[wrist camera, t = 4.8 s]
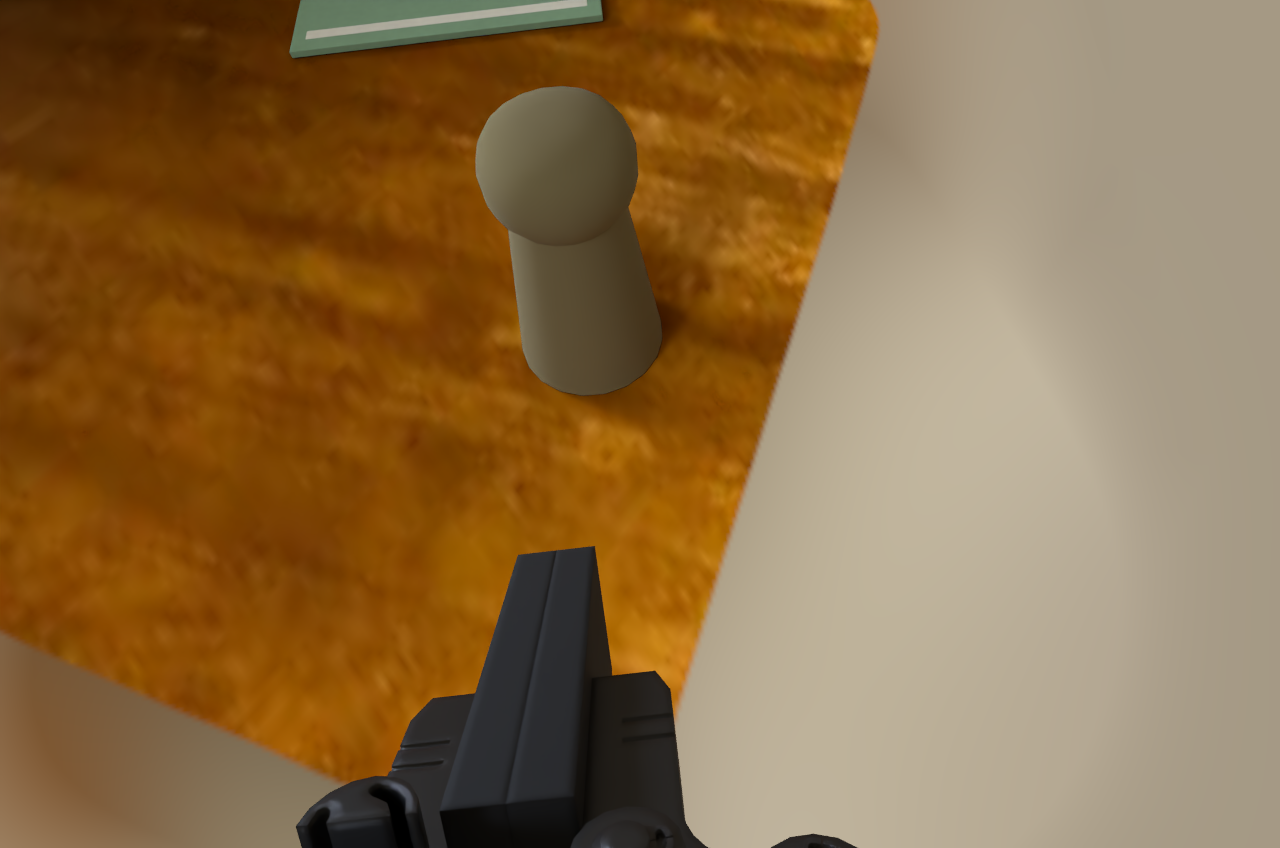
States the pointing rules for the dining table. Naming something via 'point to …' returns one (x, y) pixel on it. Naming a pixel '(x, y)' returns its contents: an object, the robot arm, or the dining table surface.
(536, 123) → the cork
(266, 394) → the dining table surface
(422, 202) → the dining table surface
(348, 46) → the cloth
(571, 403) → the dining table surface
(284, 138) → the dining table surface
